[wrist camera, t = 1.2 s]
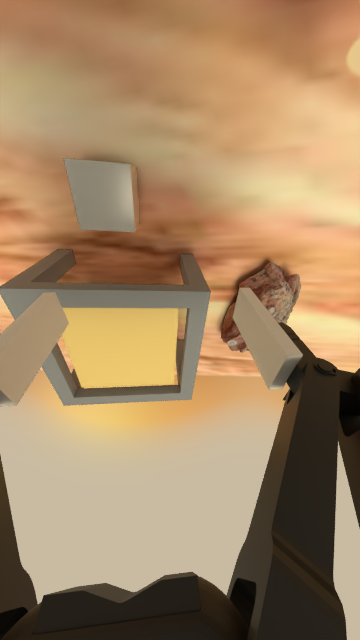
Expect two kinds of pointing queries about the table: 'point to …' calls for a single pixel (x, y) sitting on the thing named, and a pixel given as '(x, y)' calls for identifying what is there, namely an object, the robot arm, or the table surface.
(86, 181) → the grey cube
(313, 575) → the robot arm
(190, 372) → the frame
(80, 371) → the hatch
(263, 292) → the rock
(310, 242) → the table surface
